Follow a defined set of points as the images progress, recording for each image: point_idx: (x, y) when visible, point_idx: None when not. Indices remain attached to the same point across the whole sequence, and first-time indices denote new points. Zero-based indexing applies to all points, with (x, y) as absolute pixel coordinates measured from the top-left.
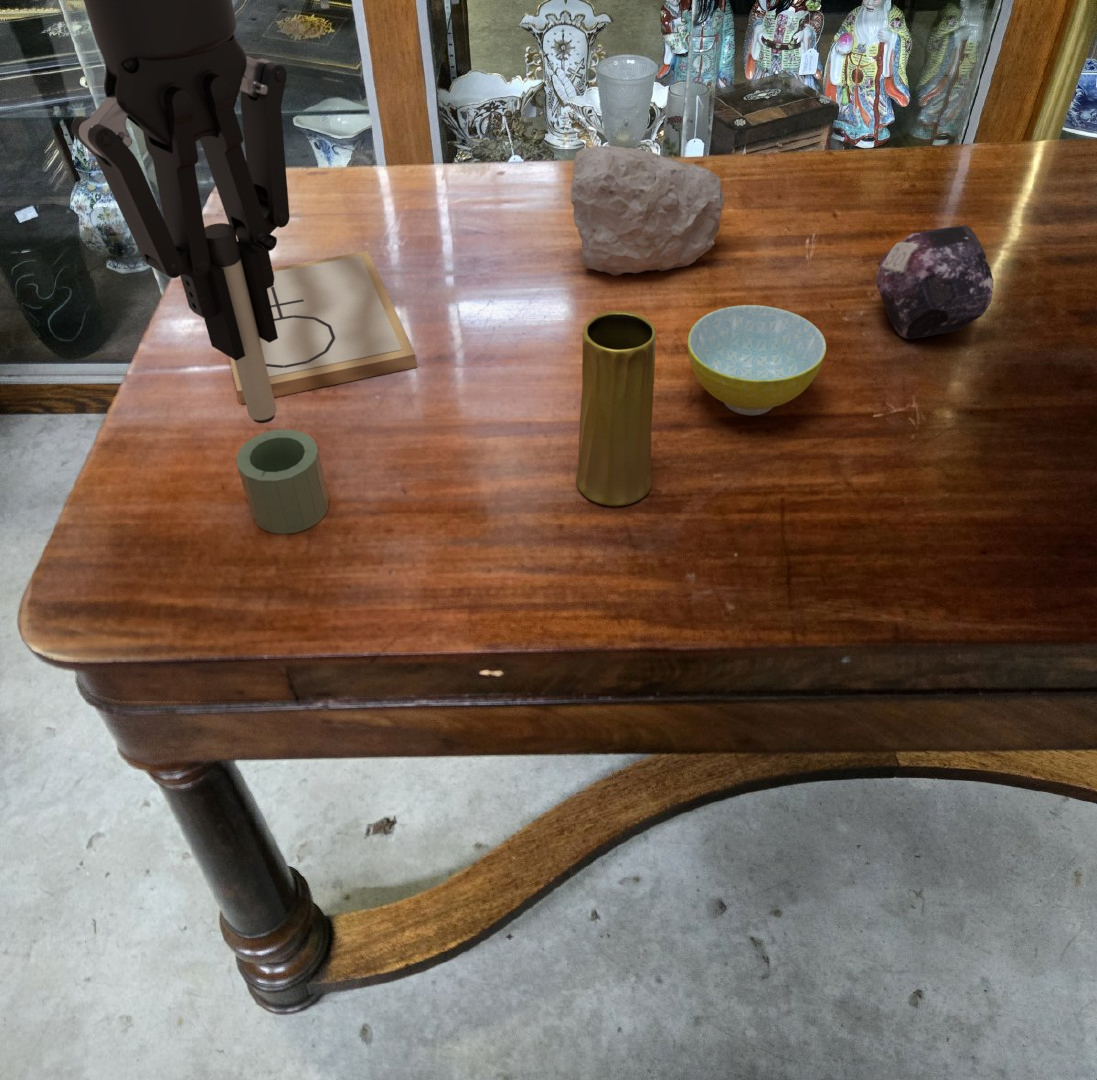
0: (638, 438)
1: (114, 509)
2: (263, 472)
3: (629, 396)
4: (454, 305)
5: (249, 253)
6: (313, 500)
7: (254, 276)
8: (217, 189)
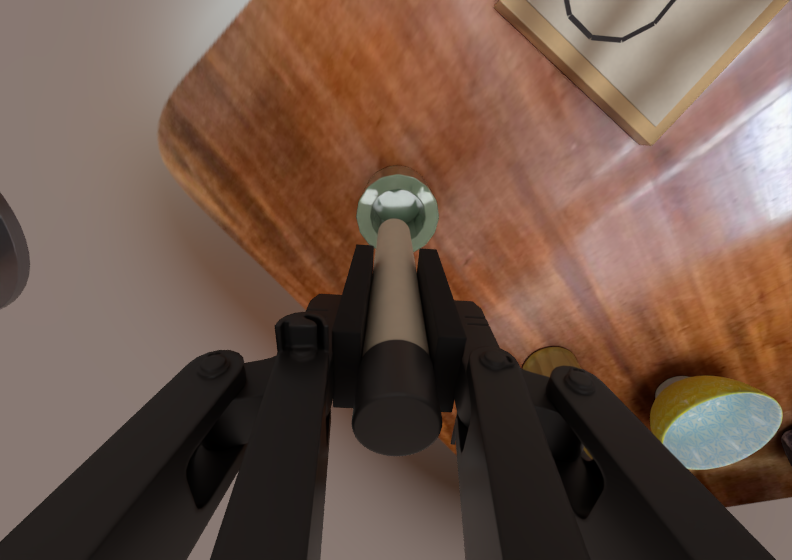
0: None
1: (284, 46)
2: (370, 227)
3: None
4: (786, 88)
5: None
6: None
7: None
8: (489, 474)
